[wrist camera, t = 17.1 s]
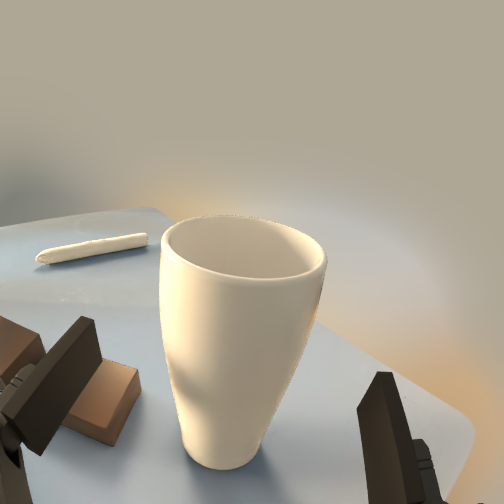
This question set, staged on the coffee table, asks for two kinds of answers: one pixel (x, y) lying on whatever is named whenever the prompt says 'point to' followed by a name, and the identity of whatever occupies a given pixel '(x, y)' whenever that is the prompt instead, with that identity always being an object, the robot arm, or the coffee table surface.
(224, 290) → the drinking glass
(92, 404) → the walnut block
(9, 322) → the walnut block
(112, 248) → the marker
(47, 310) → the coffee table surface
